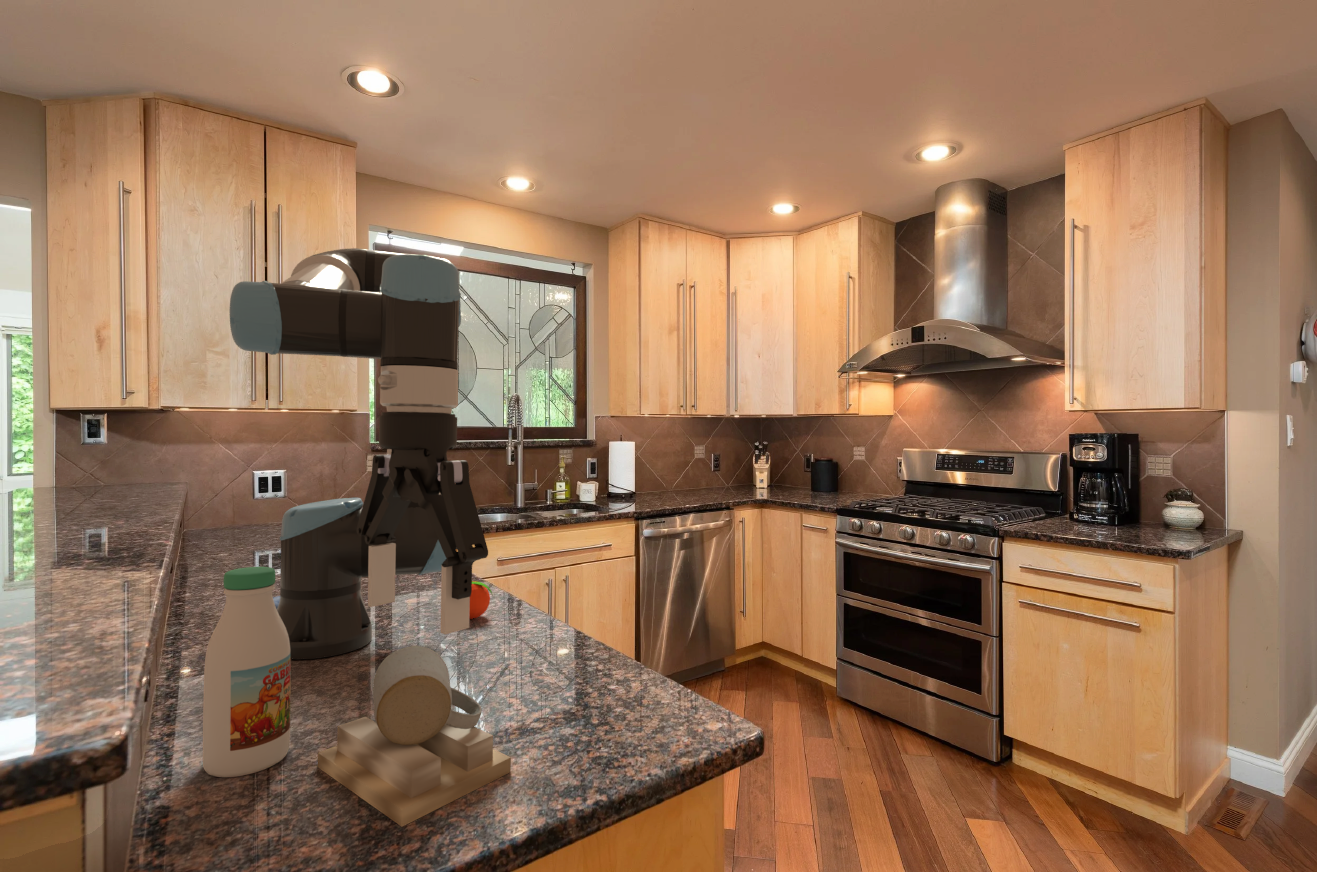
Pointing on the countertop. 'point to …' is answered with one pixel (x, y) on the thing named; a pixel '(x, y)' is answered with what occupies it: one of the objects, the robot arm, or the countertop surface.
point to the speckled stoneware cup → (418, 697)
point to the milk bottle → (247, 679)
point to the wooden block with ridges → (412, 767)
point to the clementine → (479, 599)
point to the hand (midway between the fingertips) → (415, 616)
